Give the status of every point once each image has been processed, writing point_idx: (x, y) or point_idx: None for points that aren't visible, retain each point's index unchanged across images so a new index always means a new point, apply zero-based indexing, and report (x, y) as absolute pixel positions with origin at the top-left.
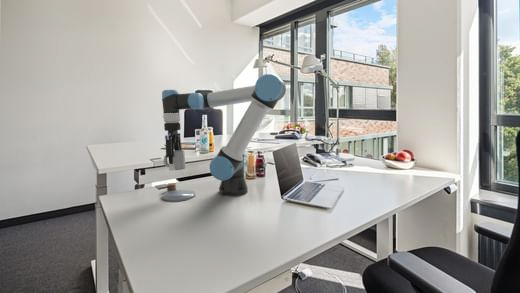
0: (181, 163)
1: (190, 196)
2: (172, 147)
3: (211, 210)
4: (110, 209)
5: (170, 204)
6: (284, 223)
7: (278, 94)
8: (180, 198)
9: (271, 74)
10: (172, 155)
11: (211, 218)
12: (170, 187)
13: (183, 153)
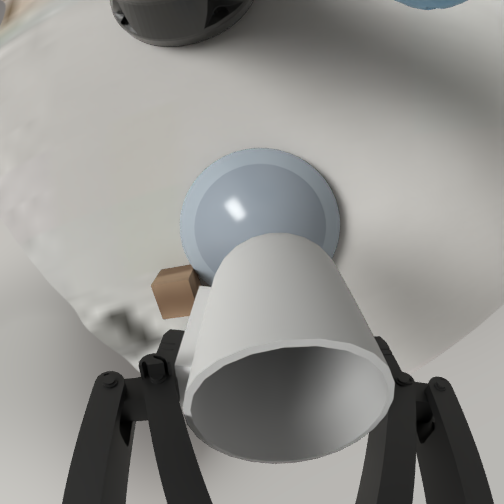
0: (335, 272)
1: (303, 160)
2: (411, 463)
3: (434, 63)
4: None
5: (372, 231)
6: None
7: None
8: (334, 202)
9: None
10: (414, 383)
11: (485, 72)
12: (196, 294)
13: (324, 315)
